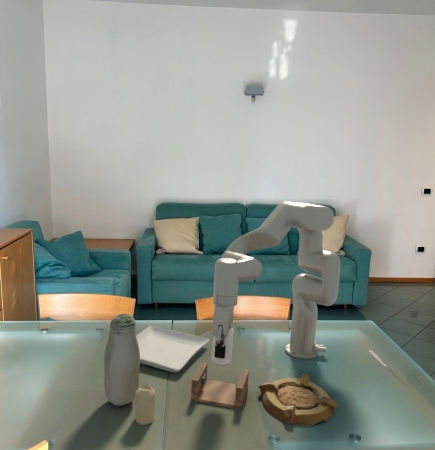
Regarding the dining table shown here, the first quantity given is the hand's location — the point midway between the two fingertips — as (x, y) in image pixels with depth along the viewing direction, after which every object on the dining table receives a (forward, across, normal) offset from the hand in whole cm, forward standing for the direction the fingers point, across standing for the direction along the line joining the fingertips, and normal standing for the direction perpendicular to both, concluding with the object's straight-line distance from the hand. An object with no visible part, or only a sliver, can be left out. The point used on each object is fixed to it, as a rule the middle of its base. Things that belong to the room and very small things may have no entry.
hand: (222, 352), depth 140 cm
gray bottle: (+15, +13, -28) cm, 34 cm away
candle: (+15, +19, -18) cm, 30 cm away
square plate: (+15, -21, -27) cm, 37 cm away
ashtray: (+15, -3, +24) cm, 29 cm away
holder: (+15, 0, 0) cm, 15 cm away
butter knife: (+15, -37, +56) cm, 69 cm away
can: (+3, 0, 0) cm, 3 cm away
